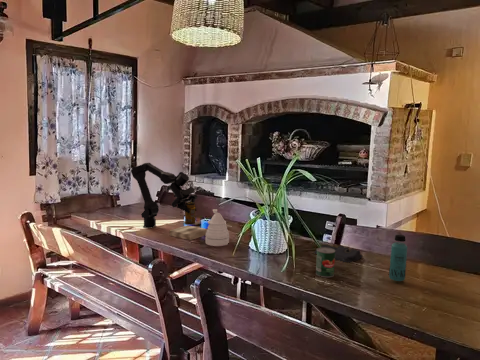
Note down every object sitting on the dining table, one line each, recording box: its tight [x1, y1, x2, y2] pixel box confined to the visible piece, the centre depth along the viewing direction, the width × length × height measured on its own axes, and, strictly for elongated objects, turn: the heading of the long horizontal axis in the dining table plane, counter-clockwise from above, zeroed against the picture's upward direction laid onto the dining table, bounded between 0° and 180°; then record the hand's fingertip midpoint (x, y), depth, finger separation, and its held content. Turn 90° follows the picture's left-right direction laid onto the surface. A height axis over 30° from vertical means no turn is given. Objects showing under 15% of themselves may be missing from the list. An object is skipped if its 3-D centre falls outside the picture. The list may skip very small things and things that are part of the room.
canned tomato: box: [315, 246, 336, 278], centre depth 181 cm, size 8×8×11 cm
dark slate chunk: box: [313, 244, 363, 264], centre depth 209 cm, size 15×22×5 cm
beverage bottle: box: [388, 234, 409, 282], centre depth 173 cm, size 6×7×20 cm
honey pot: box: [205, 209, 230, 247], centre depth 227 cm, size 13×13×18 cm
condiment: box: [182, 202, 198, 226], centre depth 243 cm, size 7×8×12 cm
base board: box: [169, 225, 208, 241], centre depth 243 cm, size 16×16×3 cm
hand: (192, 211), depth 243 cm, fingers closed on condiment, 6 cm apart
